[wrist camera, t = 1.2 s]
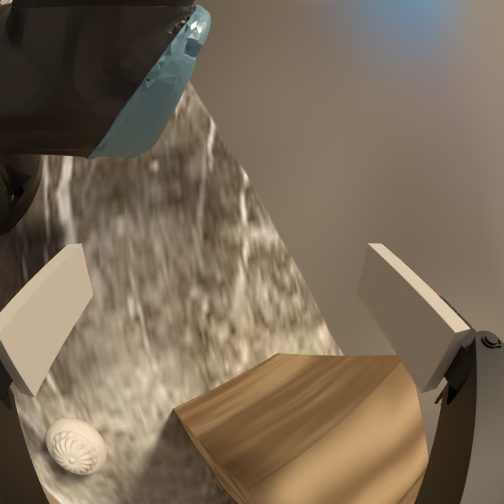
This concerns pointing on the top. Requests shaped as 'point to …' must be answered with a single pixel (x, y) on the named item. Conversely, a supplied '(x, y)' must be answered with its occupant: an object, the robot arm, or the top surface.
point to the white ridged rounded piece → (76, 446)
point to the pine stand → (313, 431)
